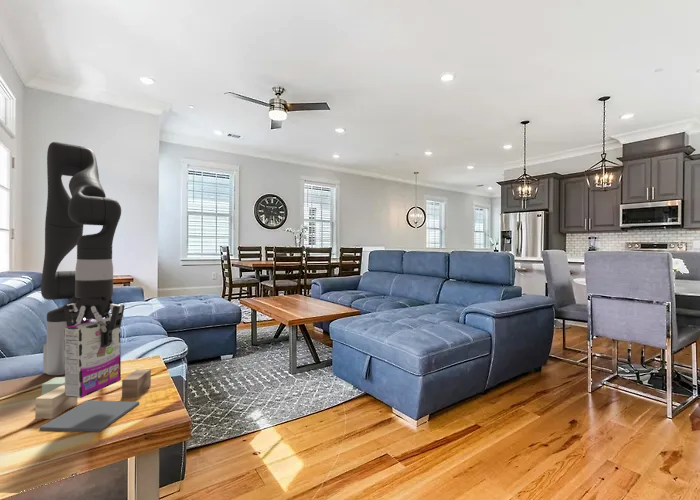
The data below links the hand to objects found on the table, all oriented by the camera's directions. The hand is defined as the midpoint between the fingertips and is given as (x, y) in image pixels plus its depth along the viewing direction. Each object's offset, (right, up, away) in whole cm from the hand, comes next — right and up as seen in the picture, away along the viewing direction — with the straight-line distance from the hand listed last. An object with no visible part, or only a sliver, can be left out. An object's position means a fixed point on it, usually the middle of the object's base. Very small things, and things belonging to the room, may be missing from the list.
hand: (94, 345), depth 85 cm
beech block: (-11, -17, +2) cm, 21 cm away
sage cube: (-17, -17, +10) cm, 26 cm away
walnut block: (+1, -17, +15) cm, 23 cm away
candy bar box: (0, -11, 0) cm, 11 cm away
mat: (0, -17, 0) cm, 17 cm away
